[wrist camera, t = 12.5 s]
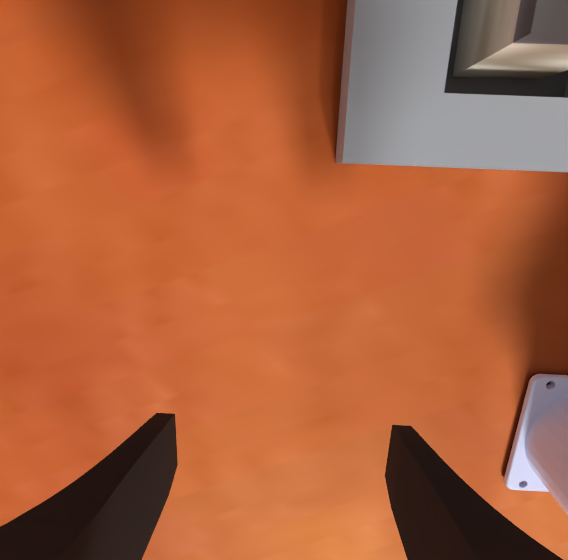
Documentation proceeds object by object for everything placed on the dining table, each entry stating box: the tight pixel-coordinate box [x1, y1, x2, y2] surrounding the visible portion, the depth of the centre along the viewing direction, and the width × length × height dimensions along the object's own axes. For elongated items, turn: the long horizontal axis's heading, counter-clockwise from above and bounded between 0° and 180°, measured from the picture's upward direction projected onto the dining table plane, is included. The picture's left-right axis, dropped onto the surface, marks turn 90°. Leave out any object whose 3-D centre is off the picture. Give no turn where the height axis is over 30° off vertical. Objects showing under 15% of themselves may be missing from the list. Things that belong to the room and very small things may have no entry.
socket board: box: [335, 0, 568, 172], centre depth 16 cm, size 14×12×3 cm
